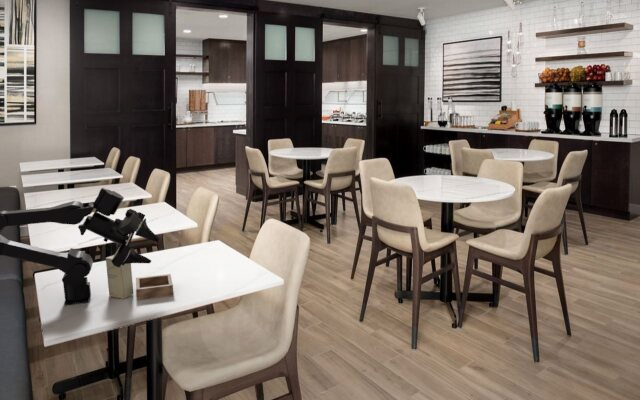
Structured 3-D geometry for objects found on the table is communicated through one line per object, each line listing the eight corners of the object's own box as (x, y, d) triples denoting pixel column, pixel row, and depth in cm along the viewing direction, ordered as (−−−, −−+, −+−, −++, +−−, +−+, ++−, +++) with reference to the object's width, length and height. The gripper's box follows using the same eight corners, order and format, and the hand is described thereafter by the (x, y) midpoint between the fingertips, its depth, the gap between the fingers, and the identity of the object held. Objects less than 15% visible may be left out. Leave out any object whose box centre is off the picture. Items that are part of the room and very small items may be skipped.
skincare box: (108, 296, 160) (104, 257, 158) (120, 291, 164) (116, 253, 161) (123, 299, 157) (118, 259, 155) (135, 294, 161) (130, 255, 158)
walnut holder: (136, 300, 157) (135, 289, 156) (136, 287, 166) (135, 277, 166) (173, 295, 160) (172, 285, 159) (171, 283, 170) (170, 273, 169)
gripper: (105, 234, 144) (158, 258, 150) (127, 191, 159) (174, 215, 164) (91, 256, 150) (141, 279, 156) (113, 213, 164) (158, 235, 170)
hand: (154, 251), depth 161 cm, fingers open, 9 cm apart
